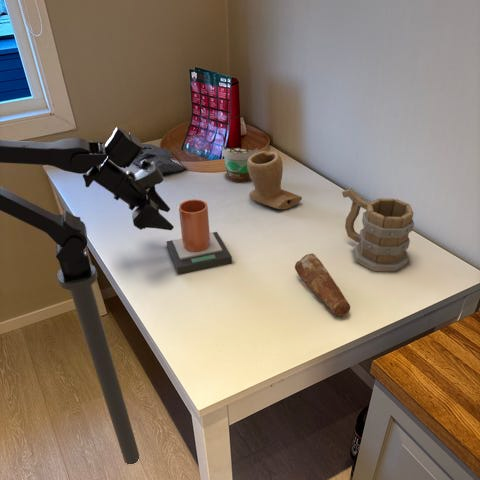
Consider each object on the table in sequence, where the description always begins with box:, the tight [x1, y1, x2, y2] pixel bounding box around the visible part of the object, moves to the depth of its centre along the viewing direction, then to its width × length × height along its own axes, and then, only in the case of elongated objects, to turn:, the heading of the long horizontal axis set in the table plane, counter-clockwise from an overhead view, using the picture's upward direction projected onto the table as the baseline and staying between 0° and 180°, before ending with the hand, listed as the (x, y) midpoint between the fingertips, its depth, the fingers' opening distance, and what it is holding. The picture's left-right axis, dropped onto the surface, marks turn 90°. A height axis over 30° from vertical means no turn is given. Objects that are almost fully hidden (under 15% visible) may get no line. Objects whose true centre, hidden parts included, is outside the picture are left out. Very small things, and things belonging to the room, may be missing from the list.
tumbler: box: [178, 199, 211, 252], centre depth 122 cm, size 7×7×11 cm
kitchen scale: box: [165, 231, 233, 275], centre depth 126 cm, size 14×13×3 cm
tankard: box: [341, 188, 415, 272], centre depth 121 cm, size 20×13×15 cm, turn 41°
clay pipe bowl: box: [247, 150, 303, 210], centre depth 142 cm, size 15×12×15 cm
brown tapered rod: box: [294, 252, 351, 317], centre depth 111 cm, size 6×19×6 cm, turn 19°
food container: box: [221, 144, 260, 183], centre depth 157 cm, size 12×6×10 cm, turn 73°
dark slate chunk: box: [132, 143, 187, 174], centre depth 169 cm, size 15×22×5 cm
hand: (170, 219), depth 119 cm, fingers open, 9 cm apart
